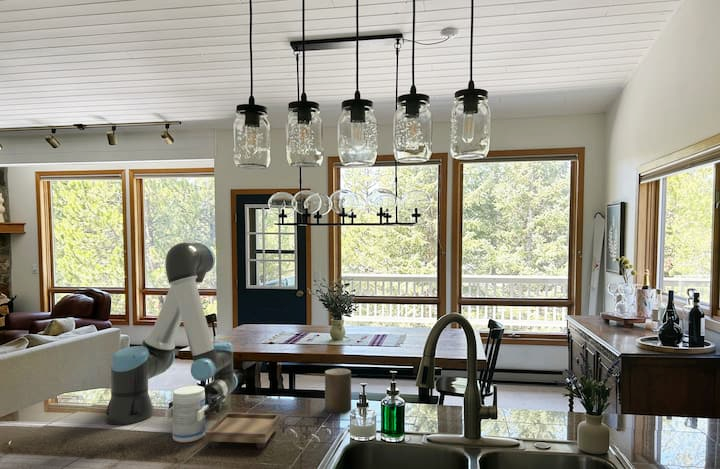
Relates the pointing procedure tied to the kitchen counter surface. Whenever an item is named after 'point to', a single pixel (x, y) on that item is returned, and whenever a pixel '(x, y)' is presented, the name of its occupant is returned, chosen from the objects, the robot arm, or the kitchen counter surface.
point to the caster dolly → (243, 428)
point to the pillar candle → (338, 390)
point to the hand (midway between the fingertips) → (182, 416)
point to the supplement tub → (188, 413)
